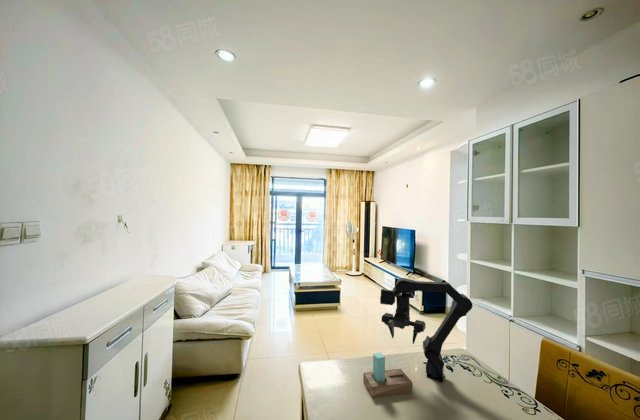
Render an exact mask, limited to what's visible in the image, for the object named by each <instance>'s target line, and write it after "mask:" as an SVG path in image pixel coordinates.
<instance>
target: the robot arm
mask: <svg viewBox="0 0 640 420" xmlns="http://www.w3.org/2000/svg"><path fill="white" fill-rule="evenodd" d="M414 292H434V293H446V294H447V295H448V296H449V297H450V298H451V299H452V301H451V306H450V310H449V311H448V313H447V315H446V316H445V318H444V319H443V321H442V322H441V323H440V325H439V326H438V328H437V330H436V331H435V333H434V334H433V335H432V336H431V337H430V336H429V335H426V338H425V339H424V340H423V341H422V350H423V354H424V357H425V358H426V359H427V361H426V362H425V374H426V376H425V377H426V378H428V379H432V380H434V381H437V382H440V383H443V382H444V378H445V372H444V371H445V369H444V368H445V367H444V366H445V362H444V359H443V356H442V353H441V352H442V348H443V344H444V343H445V342H446V339H447V338H448V337H449V335H450V333H451V332H452V331H453V329H455V328H454V327H456V325H457V323H458V322H459V320H460V319H461V318H462V317H464V316H465V315H467V314H468V313H469V312H470V311H471V310H472V308H473V306H474V305H473V303H472V300H470V299H469V297H468V296H467V295H466V294H464V293H460V292H459V291H458V290H457V289H455V288H454V287H453V286H452V284H451V283H449V282H447V281H444V282H440V281H424V280H423V281H421V280H420V281H419V280H414V279H411V278H406V277H399V278H398V279H397V281H396V285H395V286H394V287H393V288H392V290H391V289H385V288H381V289H380V298H379V299H380V300H379V304H380V305H386V306H387V305H388V306H393V305H394V304H396V308H395V312H394V314H393V313H389V312H385V313H384V314H383V315H381V322H382V323H383V324H384V325H386V326H387V327H388V330H389V333H390V335H391V338H392V339H394V338H395V328H399V329H401V330H405V328H406V327H413V330H412V333H413V334H412V344H413V345H415V342H416V340H417V337H418V334H421V333H423V332H425V329H426V327H427V326H426V325H427V324H426V322H425V321H424V320H421V319H415V321H412V320H411V316H410V315H411V313H410V311H411V308H410V300H411V299H415V297H414V294H413V293H414Z"/></svg>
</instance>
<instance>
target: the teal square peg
mask: <svg viewBox="0 0 640 420" xmlns="http://www.w3.org/2000/svg"><path fill="white" fill-rule="evenodd" d="M372 359H373V360H372V364H373V365H372V366H373V367H372V372H373V379H374V380H375V382H376V383H378V382H385V370H386V356H385V355H384V354H383V353H382V352H376V353H373V356H372Z"/></svg>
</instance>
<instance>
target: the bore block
mask: <svg viewBox="0 0 640 420" xmlns="http://www.w3.org/2000/svg"><path fill="white" fill-rule="evenodd" d="M363 384H364V386H365V388H366V389H367V391H368V393H369V395H370V397H371V398H380V397H389V396H396V395H402V394H403V395H405V394H410V393H412V394H413V381H412V379H410V378H409V377H408V375H406V373H405V371H403V370H402V368H396V369H385V382H378V383H376V382H375V380H374V379H373V371H365V372H363Z"/></svg>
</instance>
